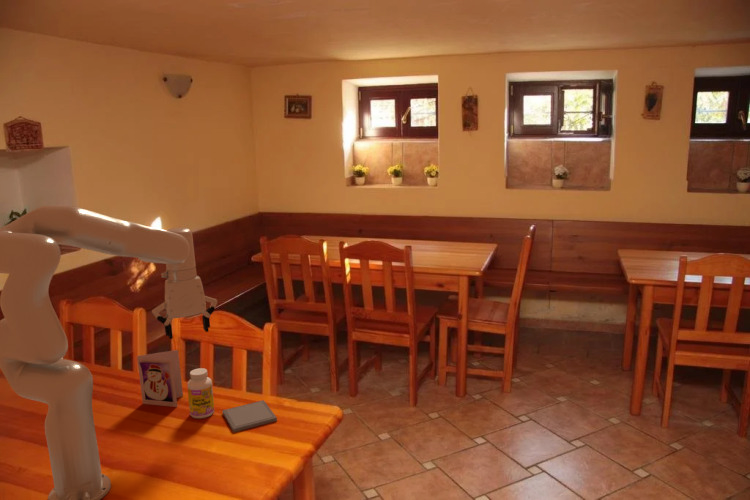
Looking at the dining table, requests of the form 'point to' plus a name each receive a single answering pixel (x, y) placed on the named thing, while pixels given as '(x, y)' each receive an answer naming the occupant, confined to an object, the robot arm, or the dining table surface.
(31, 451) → the dining table surface
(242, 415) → the slate trivet
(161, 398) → the greeting card
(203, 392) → the supplement bottle
